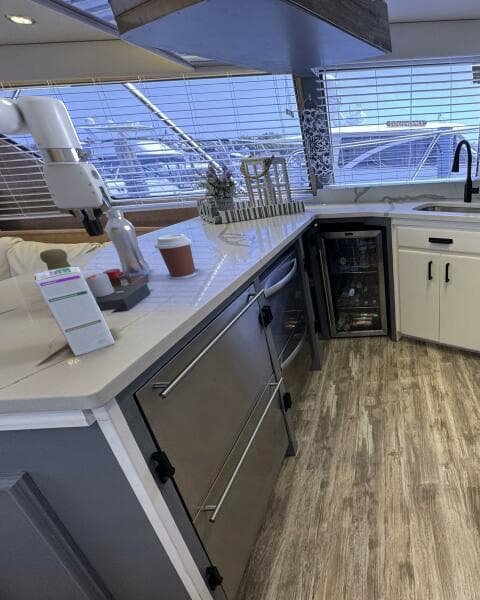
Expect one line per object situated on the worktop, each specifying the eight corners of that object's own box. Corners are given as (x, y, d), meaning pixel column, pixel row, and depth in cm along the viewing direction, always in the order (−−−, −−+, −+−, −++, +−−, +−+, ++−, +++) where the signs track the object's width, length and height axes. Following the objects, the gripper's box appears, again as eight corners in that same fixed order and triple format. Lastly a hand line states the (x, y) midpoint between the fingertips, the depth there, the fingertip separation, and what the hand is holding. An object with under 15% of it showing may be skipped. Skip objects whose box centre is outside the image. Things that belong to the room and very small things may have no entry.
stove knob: (97, 291, 78) (89, 273, 76) (118, 289, 79) (110, 271, 77) (85, 298, 74) (76, 279, 72) (107, 296, 75) (99, 276, 73)
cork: (48, 290, 90) (29, 252, 86) (74, 283, 95) (57, 246, 91) (63, 291, 88) (44, 253, 84) (88, 284, 94) (71, 247, 89)
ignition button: (102, 279, 85) (99, 273, 85) (110, 275, 89) (107, 269, 88) (117, 278, 86) (115, 271, 85) (124, 274, 89) (122, 268, 89)
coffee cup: (198, 269, 104) (187, 232, 99) (203, 275, 97) (192, 236, 92) (164, 275, 98) (151, 237, 94) (168, 283, 92) (153, 241, 87)
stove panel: (57, 319, 72) (50, 306, 70) (88, 300, 81) (83, 289, 80) (128, 310, 74) (123, 298, 73) (150, 293, 84) (146, 282, 83)
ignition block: (85, 297, 84) (78, 283, 82) (105, 286, 92) (100, 272, 90) (132, 292, 86) (127, 278, 84) (148, 281, 94) (144, 268, 92)
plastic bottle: (148, 278, 97) (123, 210, 89) (121, 281, 95) (93, 212, 87) (154, 272, 102) (131, 207, 95) (129, 275, 100) (103, 209, 92)
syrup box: (116, 343, 60) (83, 269, 54) (73, 357, 56) (33, 279, 50) (110, 334, 64) (79, 264, 58) (70, 347, 60) (32, 272, 54)
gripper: (110, 157, 80) (137, 230, 88) (39, 159, 78) (73, 235, 85) (91, 156, 74) (122, 235, 81) (12, 159, 71) (52, 241, 78)
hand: (97, 235), depth 83 cm, fingers closed
